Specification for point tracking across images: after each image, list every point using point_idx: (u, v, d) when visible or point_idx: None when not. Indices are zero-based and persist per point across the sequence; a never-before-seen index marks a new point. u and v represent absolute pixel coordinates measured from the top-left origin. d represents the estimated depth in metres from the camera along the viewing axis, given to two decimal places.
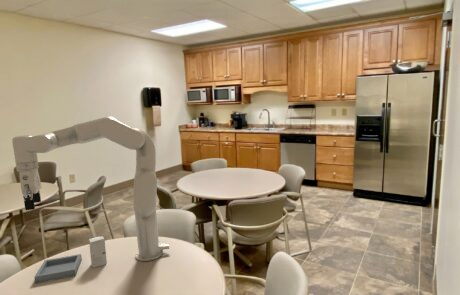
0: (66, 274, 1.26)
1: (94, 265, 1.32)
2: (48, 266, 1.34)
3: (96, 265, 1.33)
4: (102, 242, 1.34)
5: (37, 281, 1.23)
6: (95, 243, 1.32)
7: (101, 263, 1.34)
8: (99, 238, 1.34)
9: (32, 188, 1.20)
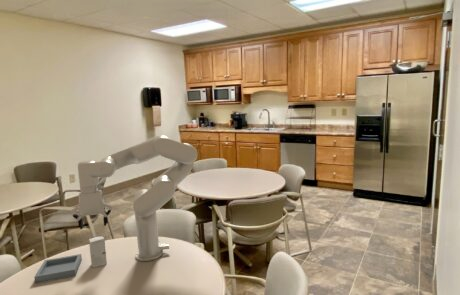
0: (66, 274, 1.26)
1: (94, 265, 1.32)
2: (48, 266, 1.34)
3: (96, 265, 1.33)
4: (102, 242, 1.34)
5: (37, 281, 1.23)
6: (95, 243, 1.32)
7: (101, 263, 1.34)
8: (99, 238, 1.34)
9: None
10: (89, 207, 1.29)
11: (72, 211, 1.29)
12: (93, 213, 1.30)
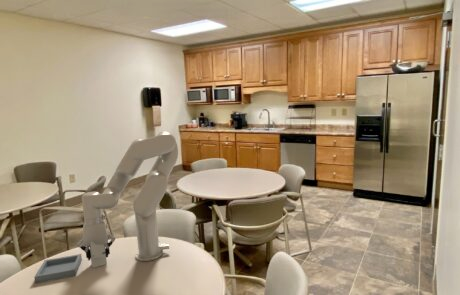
0: (66, 274, 1.26)
1: (94, 265, 1.32)
2: (48, 266, 1.34)
3: (96, 265, 1.33)
4: None
5: (37, 281, 1.23)
6: None
7: (101, 263, 1.34)
8: None
9: None
10: (93, 238, 1.31)
11: (79, 244, 1.32)
12: (97, 243, 1.32)
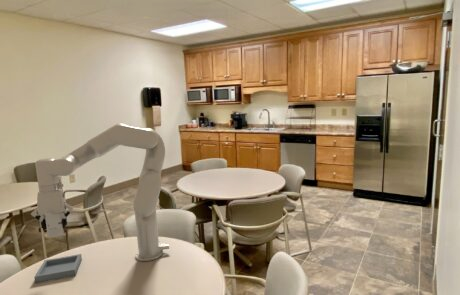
0: (66, 274, 1.26)
1: (49, 235, 1.26)
2: (48, 266, 1.34)
3: (51, 236, 1.26)
4: None
5: (37, 281, 1.23)
6: None
7: (57, 234, 1.27)
8: None
9: None
10: (48, 206, 1.25)
11: (33, 213, 1.25)
12: (53, 213, 1.26)
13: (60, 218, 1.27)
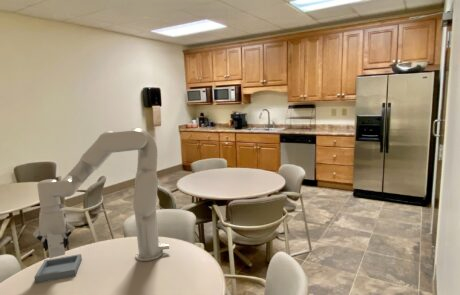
0: (66, 274, 1.26)
1: (51, 256, 1.27)
2: (48, 266, 1.34)
3: (53, 256, 1.27)
4: None
5: (37, 281, 1.23)
6: None
7: (59, 254, 1.28)
8: None
9: None
10: (50, 227, 1.26)
11: (35, 233, 1.26)
12: (55, 233, 1.27)
13: (62, 238, 1.29)
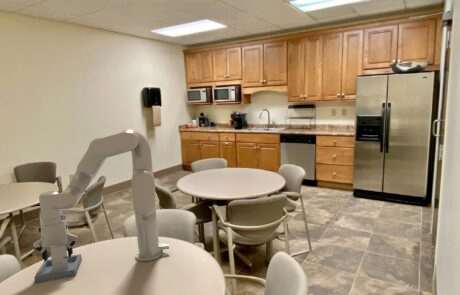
0: (66, 274, 1.26)
1: (54, 270, 1.28)
2: (48, 266, 1.34)
3: (56, 270, 1.28)
4: (63, 246, 1.29)
5: (37, 281, 1.23)
6: (55, 247, 1.28)
7: (62, 268, 1.29)
8: None
9: None
10: (52, 239, 1.27)
11: (35, 244, 1.27)
12: (56, 245, 1.28)
13: (65, 253, 1.30)
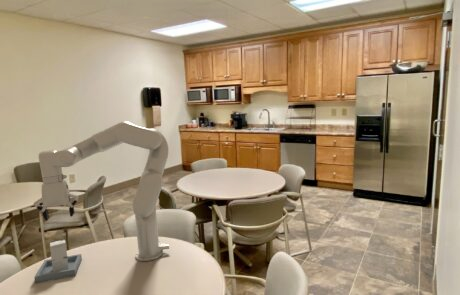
0: (66, 274, 1.26)
1: (54, 270, 1.28)
2: (48, 266, 1.34)
3: (56, 270, 1.28)
4: (63, 246, 1.29)
5: (37, 281, 1.23)
6: (55, 247, 1.28)
7: (62, 268, 1.29)
8: (60, 242, 1.30)
9: None
10: (53, 198, 1.26)
11: (36, 203, 1.26)
12: (58, 204, 1.27)
13: (65, 253, 1.30)
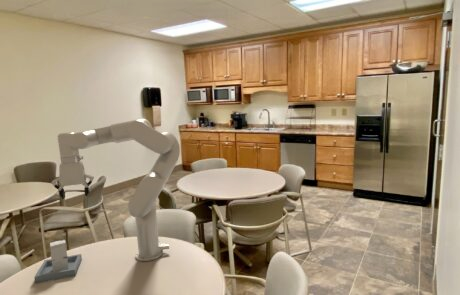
0: (66, 274, 1.26)
1: (54, 270, 1.28)
2: (48, 266, 1.34)
3: (56, 270, 1.28)
4: (63, 246, 1.29)
5: (37, 281, 1.23)
6: (55, 247, 1.28)
7: (62, 268, 1.29)
8: (60, 242, 1.30)
9: None
10: (70, 177, 1.33)
11: (53, 181, 1.33)
12: (74, 183, 1.34)
13: (65, 253, 1.30)
